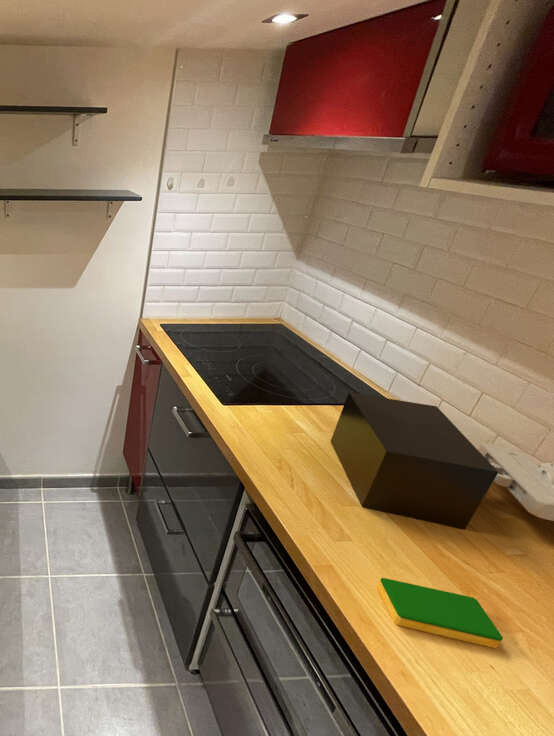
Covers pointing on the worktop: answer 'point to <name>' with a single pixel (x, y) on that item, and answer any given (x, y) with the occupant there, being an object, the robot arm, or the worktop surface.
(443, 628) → the dish sponge
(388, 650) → the worktop surface
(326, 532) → the worktop surface
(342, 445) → the black box
